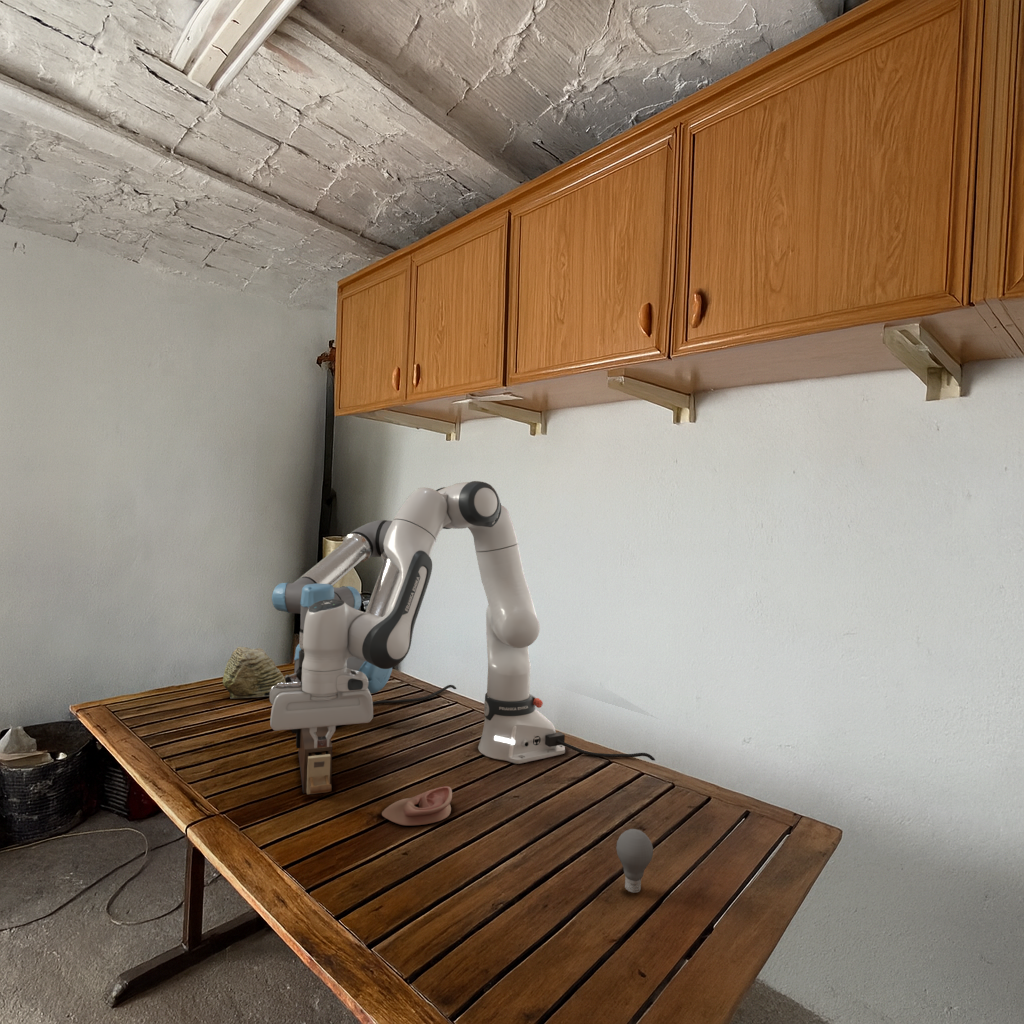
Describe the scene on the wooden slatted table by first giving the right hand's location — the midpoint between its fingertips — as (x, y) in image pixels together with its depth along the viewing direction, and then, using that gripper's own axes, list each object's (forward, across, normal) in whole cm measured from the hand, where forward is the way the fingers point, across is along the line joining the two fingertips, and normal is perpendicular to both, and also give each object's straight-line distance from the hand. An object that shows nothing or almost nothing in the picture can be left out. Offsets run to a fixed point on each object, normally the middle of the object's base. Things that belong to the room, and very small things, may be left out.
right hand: (321, 746), depth 130 cm
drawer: (+11, 0, +11) cm, 15 cm away
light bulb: (+12, +47, -44) cm, 66 cm away
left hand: (+8, 0, +24) cm, 25 cm away
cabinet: (+12, 0, +17) cm, 21 cm away
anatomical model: (+12, +18, -9) cm, 24 cm away
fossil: (+12, -14, +78) cm, 80 cm away
